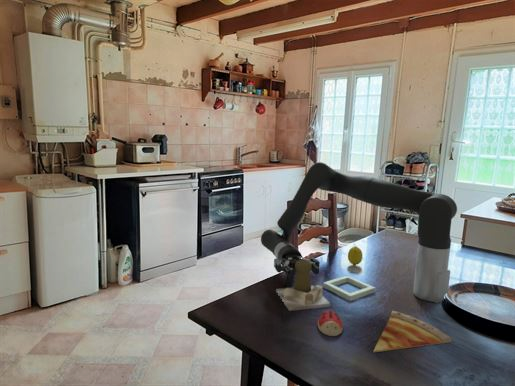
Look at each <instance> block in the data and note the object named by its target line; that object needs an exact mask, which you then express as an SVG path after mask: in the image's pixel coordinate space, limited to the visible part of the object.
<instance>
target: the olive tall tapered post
mask: <svg viewBox="0 0 515 386" xmlns="http://www.w3.org/2000/svg"><path fill="white" fill-rule="evenodd" d="M311 268H312V265H311V263H310V262H309V261H307V260H299V261H297V262H296V263H295V269H294V270H295V277H294V283H293V287H294V290H298V291H302V292H305V293H309V292H310V291H311V286H312V283H311V272H312V270H311Z"/></svg>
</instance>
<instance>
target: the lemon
mask: <svg viewBox="0 0 515 386" xmlns="http://www.w3.org/2000/svg"><path fill="white" fill-rule="evenodd" d="M362 260H363V252H362V249H361V248H360V247H358V246H356V245H355V246H353V247H351V248H350V249H349V251H348V253H347V261H349V263H350V264H351V265H353V266H357V265H359V264H361V263H362Z"/></svg>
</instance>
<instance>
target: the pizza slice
mask: <svg viewBox="0 0 515 386" xmlns="http://www.w3.org/2000/svg"><path fill="white" fill-rule="evenodd" d="M452 340H453V339H452V338H451V337H450V336H449V335H448V334H446V333H444V332H443V331H441V330H439V329H438V328H436V327H435V326H433V325H431V324H429V323H427V322H425V321H423V320H421V319H419V318H416V317H414V316H412V315H408V314H406V313H402V312H400V311H397V310H393V309H392V310H391V314H390V317H389V319H388V321H387V323H386V325H385V327H384V329H383V331H382V333H381V335H380V337H379V339H378V341H377V343H376V345H375V347H374V349H373V353H378V352H387V351H394V350H401V349H402V350H403V349H408V348H416V347H423V346H424V345H425V346H432V345H439V344H446V343H452Z"/></svg>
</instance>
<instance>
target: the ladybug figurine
mask: <svg viewBox="0 0 515 386" xmlns="http://www.w3.org/2000/svg"><path fill="white" fill-rule="evenodd" d="M317 328H318V329H319V331H320V332H321V333H322V334H324V335H326V336H329V337H336V336H339V335H340V334H341V333H343V329H344V325H343V321H342V319H341V317H340V316H339V315H338V314H337V313H336V312H335V311H333V310H326V311H324V312H322V313H321V314H320V316H319V317H318V321H317Z"/></svg>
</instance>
